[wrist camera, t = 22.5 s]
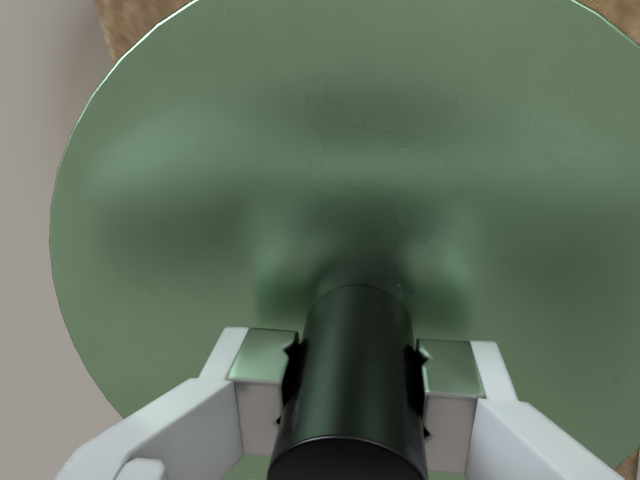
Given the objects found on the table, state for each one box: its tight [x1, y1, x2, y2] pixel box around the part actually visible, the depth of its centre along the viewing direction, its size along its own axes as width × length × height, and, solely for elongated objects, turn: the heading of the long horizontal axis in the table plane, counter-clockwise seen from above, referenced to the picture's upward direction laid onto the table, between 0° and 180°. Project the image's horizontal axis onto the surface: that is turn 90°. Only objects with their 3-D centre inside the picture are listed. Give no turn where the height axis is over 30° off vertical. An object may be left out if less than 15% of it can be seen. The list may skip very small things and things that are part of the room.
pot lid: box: [49, 0, 640, 480], centre depth 9 cm, size 15×15×5 cm
